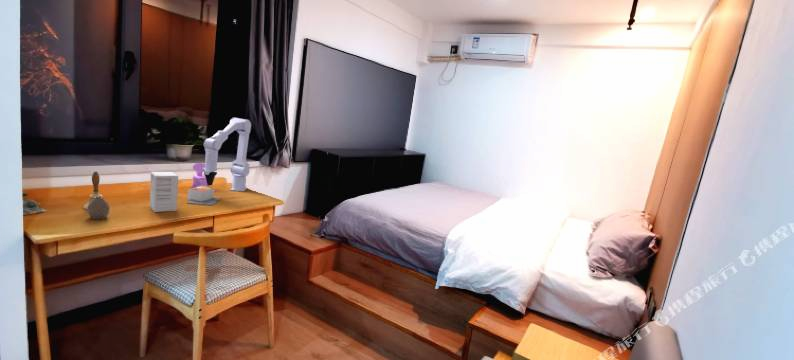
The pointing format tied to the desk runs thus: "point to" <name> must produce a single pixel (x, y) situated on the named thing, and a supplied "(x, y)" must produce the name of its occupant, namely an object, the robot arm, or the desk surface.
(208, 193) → the small box
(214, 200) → the slate mat
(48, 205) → the desk surface
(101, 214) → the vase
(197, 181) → the toy chair
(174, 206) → the supplement box
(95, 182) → the hand bell
